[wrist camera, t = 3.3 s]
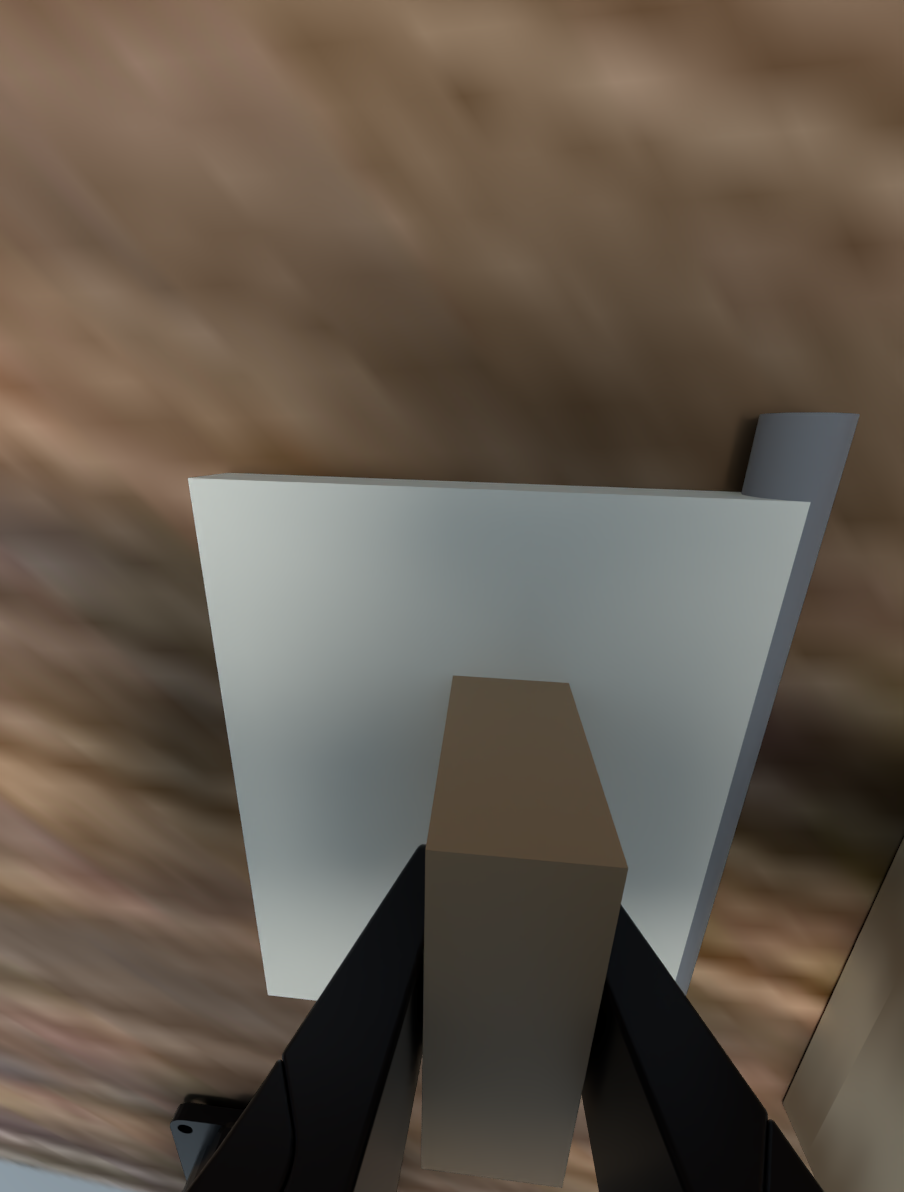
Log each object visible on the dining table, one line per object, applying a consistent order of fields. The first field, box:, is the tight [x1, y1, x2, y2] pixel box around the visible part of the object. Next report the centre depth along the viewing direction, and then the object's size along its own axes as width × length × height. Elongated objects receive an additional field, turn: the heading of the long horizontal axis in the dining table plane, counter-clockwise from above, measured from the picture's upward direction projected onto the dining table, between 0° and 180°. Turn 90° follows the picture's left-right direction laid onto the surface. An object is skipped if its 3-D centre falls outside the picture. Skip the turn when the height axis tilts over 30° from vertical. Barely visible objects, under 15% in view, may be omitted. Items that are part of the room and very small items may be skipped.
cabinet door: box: [188, 413, 859, 1188], centre depth 8 cm, size 15×10×5 cm
